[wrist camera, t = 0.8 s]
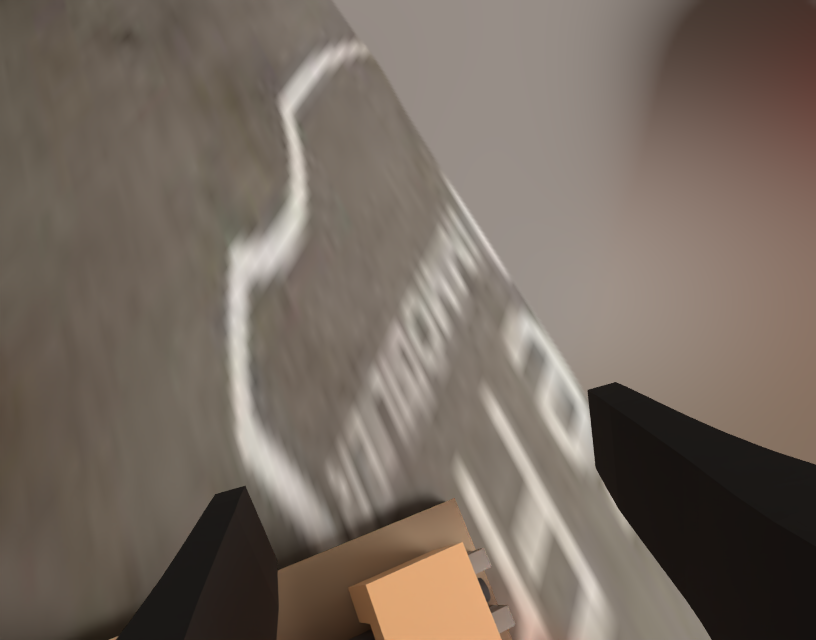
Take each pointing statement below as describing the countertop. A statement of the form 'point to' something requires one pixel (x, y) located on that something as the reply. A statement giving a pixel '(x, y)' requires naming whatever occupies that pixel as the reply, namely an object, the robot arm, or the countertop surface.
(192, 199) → the countertop surface
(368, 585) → the tan small block
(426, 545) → the cord board
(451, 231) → the countertop surface
